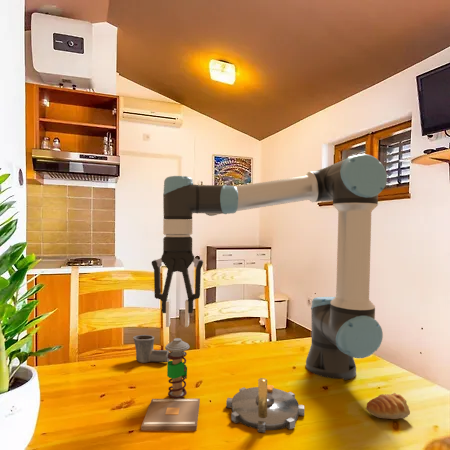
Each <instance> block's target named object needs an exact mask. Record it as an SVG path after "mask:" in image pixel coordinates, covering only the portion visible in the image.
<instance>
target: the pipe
mask: <svg viewBox="0 0 450 450" xmlns="http://www.w3.org/2000/svg"><path fill="white" fill-rule="evenodd" d="M132 339H133V341H134V346H135V354H136V355H135V358H136V361H137V362H138V363H140V364H141V363H142V364H146V363H168V362H169V361H171V360H170V359H169V356H168V354H169V353H170V352H171V351H168V350H166V349H154V346H155V345H154V344H155V343H154V342H155V336H153V335H150V334H138V335H134V336H133V337H132Z"/></svg>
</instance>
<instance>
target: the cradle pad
mask: <svg viewBox="0 0 450 450" xmlns="http://www.w3.org/2000/svg"><path fill="white" fill-rule="evenodd" d="M200 400H201V399H200V398H180V399H174V398H151V400H150V403H149V405H148V408H147V410H146V413H145V416H144V418H143V421H142V423H141V426H140V428H141V431H175V432H176V431H178V432H180V431H182V432H183V431H187V432H188V431H197V429H198V420H199V412H200V411H199V410H200V405H201V404H200Z"/></svg>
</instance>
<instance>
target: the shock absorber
mask: <svg viewBox="0 0 450 450" xmlns="http://www.w3.org/2000/svg"><path fill="white" fill-rule="evenodd" d="M189 349H190V344H189V343H188V342H186V341H183V340H182V338H179V337H175V338H173V341H170V342H168V343H167V344H166V345H165V346H164V350H168V351H169V352H170V353H169V354H168V356H169V359H170V360H169V362H167V368H166V369H167V371H166V372H167V373H166V374H167V375H166V376H167V377H168V378H169V379H168V383H169V384H172V385H171V386H169V387H168V388H167V389H168V392H167V395H168V397H170V399H183V397H185V396H186V395H187V389H186V386H187V382H186V381H185V380H187V378H188V366H187V365H186V364H187V359H186V356H187V355H188V353H187V352H186V351H187V350H189ZM183 360H184V361H183Z"/></svg>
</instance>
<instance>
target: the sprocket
mask: <svg viewBox="0 0 450 450" xmlns="http://www.w3.org/2000/svg"><path fill="white" fill-rule="evenodd" d="M257 381H258V383H257V384H258V386H255V387H254V386H253V387H248V388H246V387H241V388H239V391H238V392H237V393H236V394H234V396H233V397H227V399H226V402H225V403H226V405H225V406H226V408H227V409H228V408H229V409H231V414H230V415H231V421H232V422H233V423H234V424H238V423H241V424H242V425H244V426H246V427H250V428H251V429H256V430H257V432H258V433H266V431H277V430H283V429H285V428H287V429H288V430H292V429H294V428H296V423H297V420H298V419H299V416H301V417H302V416H305V405H303V404H299V402H298V400H297V399H296V394H295V393H293V392H292V391H289V392H287V391H285V390H282V389H278V388H273V386H274V385H271V384H268V379H267V378H263V377H260V378H258V379H257Z"/></svg>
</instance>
